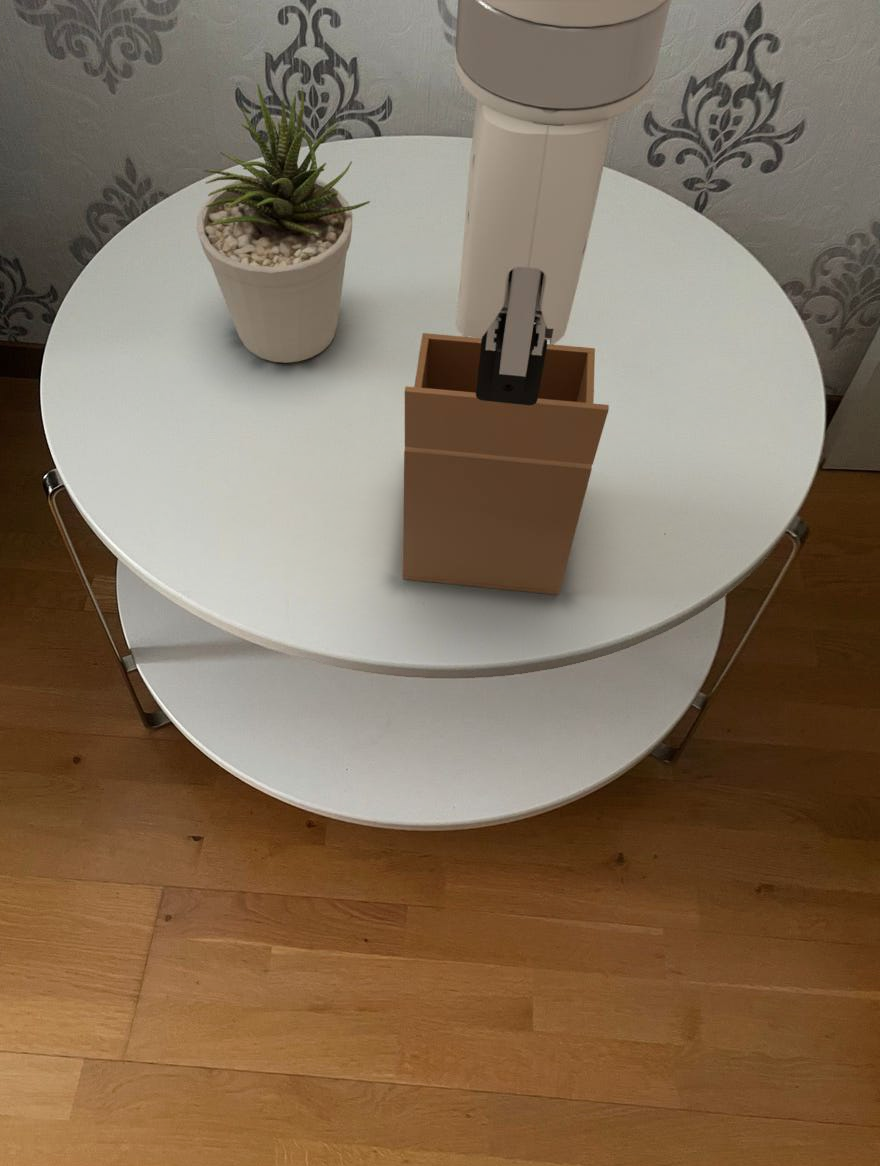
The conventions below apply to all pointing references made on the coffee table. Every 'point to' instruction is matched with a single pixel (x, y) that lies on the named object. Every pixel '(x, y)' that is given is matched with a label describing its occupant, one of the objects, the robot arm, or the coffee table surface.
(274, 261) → the potted plant
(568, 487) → the carton
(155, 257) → the coffee table surface
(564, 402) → the carton flap
